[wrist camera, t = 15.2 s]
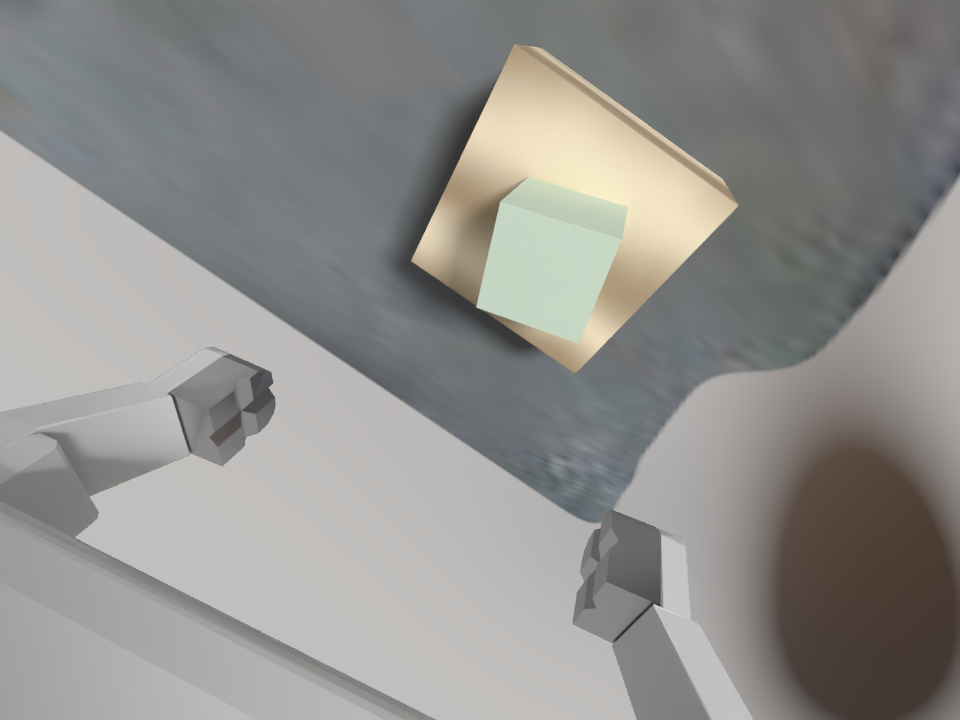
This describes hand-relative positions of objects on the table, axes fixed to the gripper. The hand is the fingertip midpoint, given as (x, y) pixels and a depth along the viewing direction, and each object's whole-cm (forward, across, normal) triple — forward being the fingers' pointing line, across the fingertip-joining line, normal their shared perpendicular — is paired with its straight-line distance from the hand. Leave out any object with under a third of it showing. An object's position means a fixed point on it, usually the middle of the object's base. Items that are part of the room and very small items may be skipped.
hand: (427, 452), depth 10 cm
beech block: (+22, 0, 0) cm, 22 cm away
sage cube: (+16, 0, 0) cm, 16 cm away
